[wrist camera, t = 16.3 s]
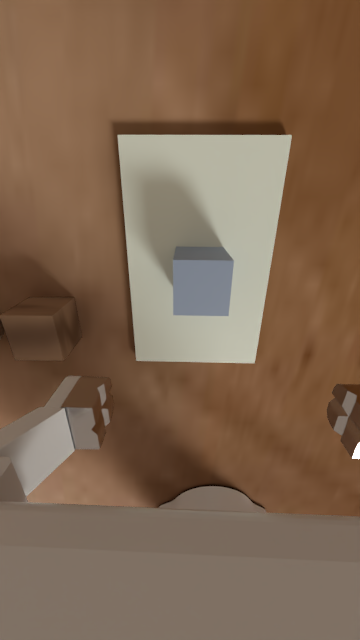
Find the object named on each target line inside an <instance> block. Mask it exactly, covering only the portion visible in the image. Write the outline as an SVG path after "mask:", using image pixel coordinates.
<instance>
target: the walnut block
mask: <svg viewBox="0 0 360 640" xmlns="http://www.w3.org/2000/svg"><path fill="white" fill-rule="evenodd" d="M0 318H1V321H2V324H3V327H4V330H5V333H6V336H7V339H8V342H9V344H10V347H11V350H12V353H13V356H14V359H15V360H33V361H64V360H65V358H66V357H67V356H68V355H69V353H70V352H71V351H72V349H73V348H74V347H75V346H76V344H77V343H78V342H79V340H80V339H81V338H82V334H81V329H80V323H79V318H78V313H77V308H76V303H75V298H74V297H29V298H27V299H26V300H24V301H22V302H21V303H19V304H18V305H16V306H14V307H13V308H11V309H9V310H8V311H6V312H4V313H3V314H1V315H0Z"/></svg>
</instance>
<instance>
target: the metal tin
mask: <svg viewBox="0 0 360 640" xmlns="http://www.w3.org/2000/svg"><path fill="white" fill-rule="evenodd" d="M4 331H5V330H4V327H3V324H2V321H1V319H0V339H1V338H2V337H3V335H4Z"/></svg>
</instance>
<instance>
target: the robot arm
mask: <svg viewBox="0 0 360 640" xmlns="http://www.w3.org/2000/svg"><path fill="white" fill-rule="evenodd" d="M111 387H112V386H111V380H110V378H109V377H91V376H67V377H66V378H65V379H64V380H63V381H62V383H61V384H60V386H59V387H58V388H57V390H56V391H55V392H54V394H53V395H52V397H51V398H50V399H49V401H48V402H47V403H46V405H45V406H44V407H39V408H37V409H35V410H33V411H32V412H30V413H28V414H26V415H25V416H23V417H21V418H19V419H18V420H16V421H14V422H12V423H11V424H9V425H7V426H5V427H4V428H2V429H0V640H360V517H358V516H333V515H309V514H285V513H266V510H265V509H264V508H262V507H260V506H257V505H255V504H254V503H252V502H251V500H250V499H249V498H248V497H247V496H245V495H244V494H242V493H241V492H239V491H236V490H234V489H230V488H226V487H219V486H206V487H199V488H194V489H191V490H188V491H186V492H184V493H182V494H180V495H179V496H178V497H177V498H175V499H174V500H173V501H171V502H168V503H166V504H163V505H161V506H159V508H148V507H124V506H101V505H78V504H54V503H31V502H28V500H27V498H26V496H27V495H29V494H30V493H31V492H32V491H33V490H34V489H35V488H36V487H37V486H38V485H39V484H40V483H41V482H42V481H43V480H44V479H45V478H46V477H47V476H49V475H50V474H51V473H52V472H53V471H54V470H55V469H56V468H57V467H58V466H59V465H60V464H61V463H62V462H63V461H64V460H65V459H66V458H67V457H69V456H70V455H71V454H72V453H73V452H74V451H75V449H100V448H101V445H102V442H103V440H104V437H105V434H106V429H105V426H106V425H107V424H108V423H110V421H111V418H112V414H113V408H114V401H113V396H112V395H111V394H110V393H109V392H110V389H111ZM332 394H333V395H334V397H335V398H334V399H333V400H331V401H330V402H329V404H328V407H327V418H328V420H329V423H330V425H331V427H332V428H333V430H334V431H336V432H337V433H339V434H340V435H341V442H342V444H343V445H344V447H345V449H346V450H347V452H348V453H349V455H350V456H351V458H354V459H360V384H337V385H336V386H335V387H334V389H333V391H332Z"/></svg>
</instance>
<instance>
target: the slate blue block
mask: <svg viewBox="0 0 360 640" xmlns="http://www.w3.org/2000/svg"><path fill="white" fill-rule="evenodd" d="M233 266H234V260H233V259H232V257H231V256H230V255H229V254H228V252H227V251H226V250H225V249H224V247H176V249H175V253H174V258H173V315H186V316H229V306H230V296H231V286H232V276H233Z"/></svg>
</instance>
